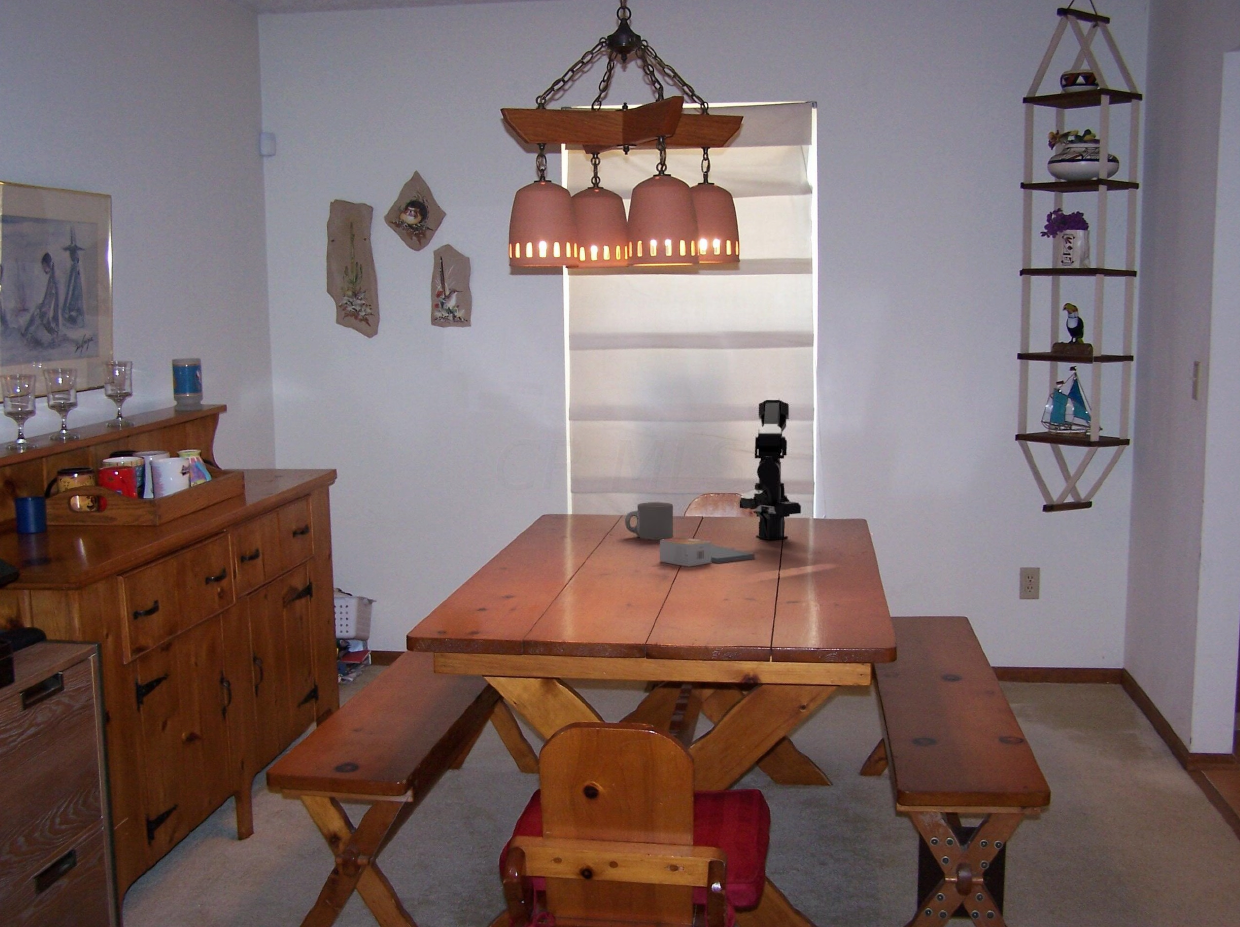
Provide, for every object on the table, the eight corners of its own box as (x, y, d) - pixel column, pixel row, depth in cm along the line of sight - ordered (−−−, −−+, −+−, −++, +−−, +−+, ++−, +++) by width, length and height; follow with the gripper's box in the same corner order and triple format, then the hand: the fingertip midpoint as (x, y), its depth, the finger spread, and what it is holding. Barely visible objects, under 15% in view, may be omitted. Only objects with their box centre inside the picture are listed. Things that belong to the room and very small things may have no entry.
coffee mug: (672, 537, 331) (672, 502, 330) (673, 542, 321) (673, 506, 320) (625, 537, 331) (625, 502, 330) (624, 542, 321) (624, 506, 320)
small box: (689, 544, 282) (658, 539, 289) (689, 567, 282) (658, 561, 290) (711, 540, 287) (681, 536, 295) (711, 563, 288) (681, 557, 295)
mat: (711, 549, 309) (711, 544, 309) (754, 558, 294) (754, 553, 294) (674, 553, 303) (674, 548, 302) (717, 563, 288) (717, 558, 287)
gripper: (723, 478, 310) (723, 536, 311) (769, 484, 294) (769, 545, 296) (756, 475, 316) (755, 532, 317) (802, 481, 300) (802, 541, 302)
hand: (769, 537), depth 308 cm, fingers closed
